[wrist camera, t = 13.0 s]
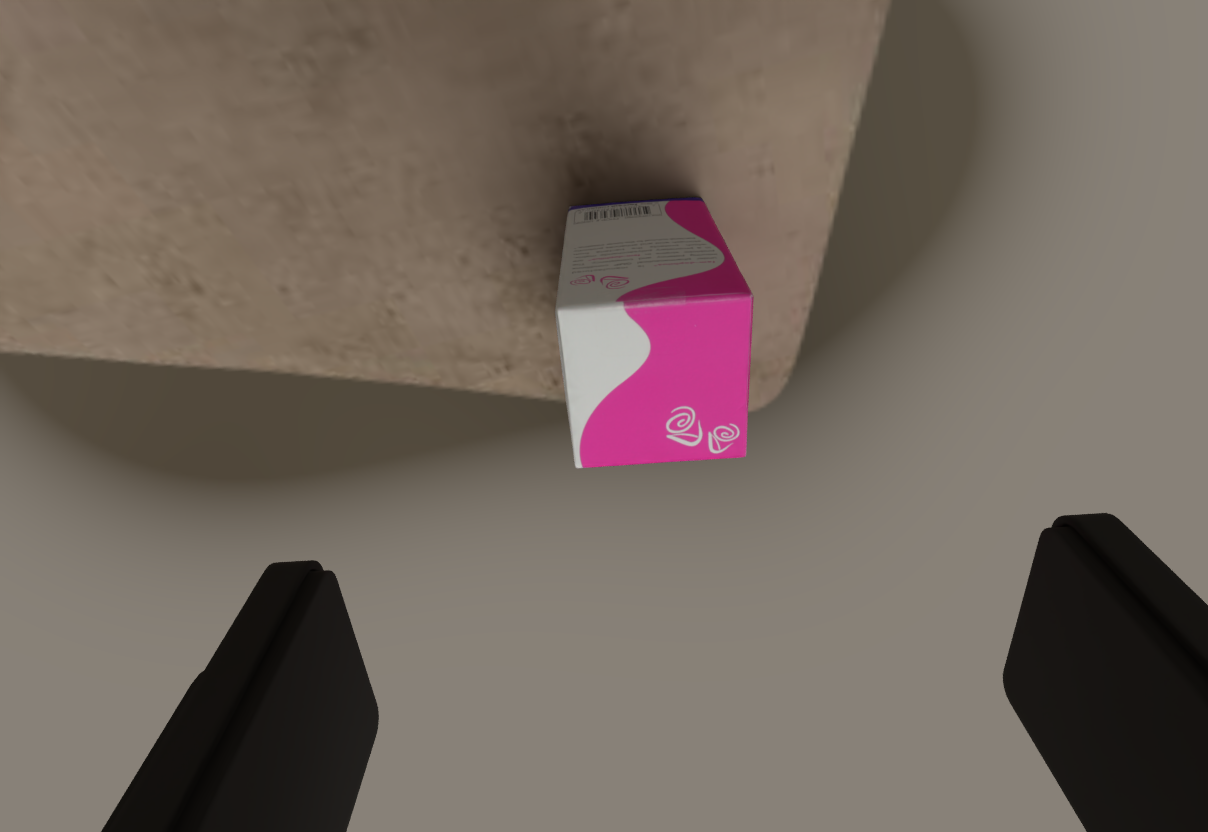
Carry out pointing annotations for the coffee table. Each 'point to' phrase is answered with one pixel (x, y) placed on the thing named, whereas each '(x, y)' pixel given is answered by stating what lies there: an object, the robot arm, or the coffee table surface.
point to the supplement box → (652, 334)
